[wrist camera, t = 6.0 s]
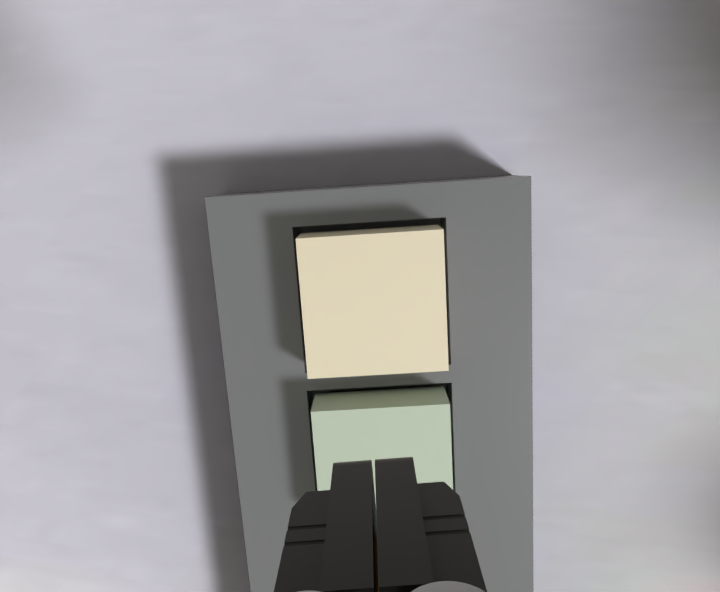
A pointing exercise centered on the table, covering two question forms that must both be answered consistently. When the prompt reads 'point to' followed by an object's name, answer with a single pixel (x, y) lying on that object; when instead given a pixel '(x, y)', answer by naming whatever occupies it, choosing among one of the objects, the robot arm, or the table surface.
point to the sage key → (383, 431)
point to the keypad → (462, 382)
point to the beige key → (373, 301)
